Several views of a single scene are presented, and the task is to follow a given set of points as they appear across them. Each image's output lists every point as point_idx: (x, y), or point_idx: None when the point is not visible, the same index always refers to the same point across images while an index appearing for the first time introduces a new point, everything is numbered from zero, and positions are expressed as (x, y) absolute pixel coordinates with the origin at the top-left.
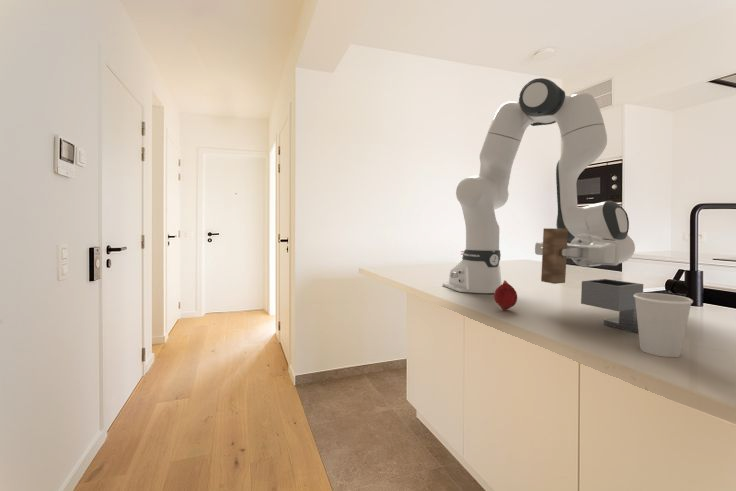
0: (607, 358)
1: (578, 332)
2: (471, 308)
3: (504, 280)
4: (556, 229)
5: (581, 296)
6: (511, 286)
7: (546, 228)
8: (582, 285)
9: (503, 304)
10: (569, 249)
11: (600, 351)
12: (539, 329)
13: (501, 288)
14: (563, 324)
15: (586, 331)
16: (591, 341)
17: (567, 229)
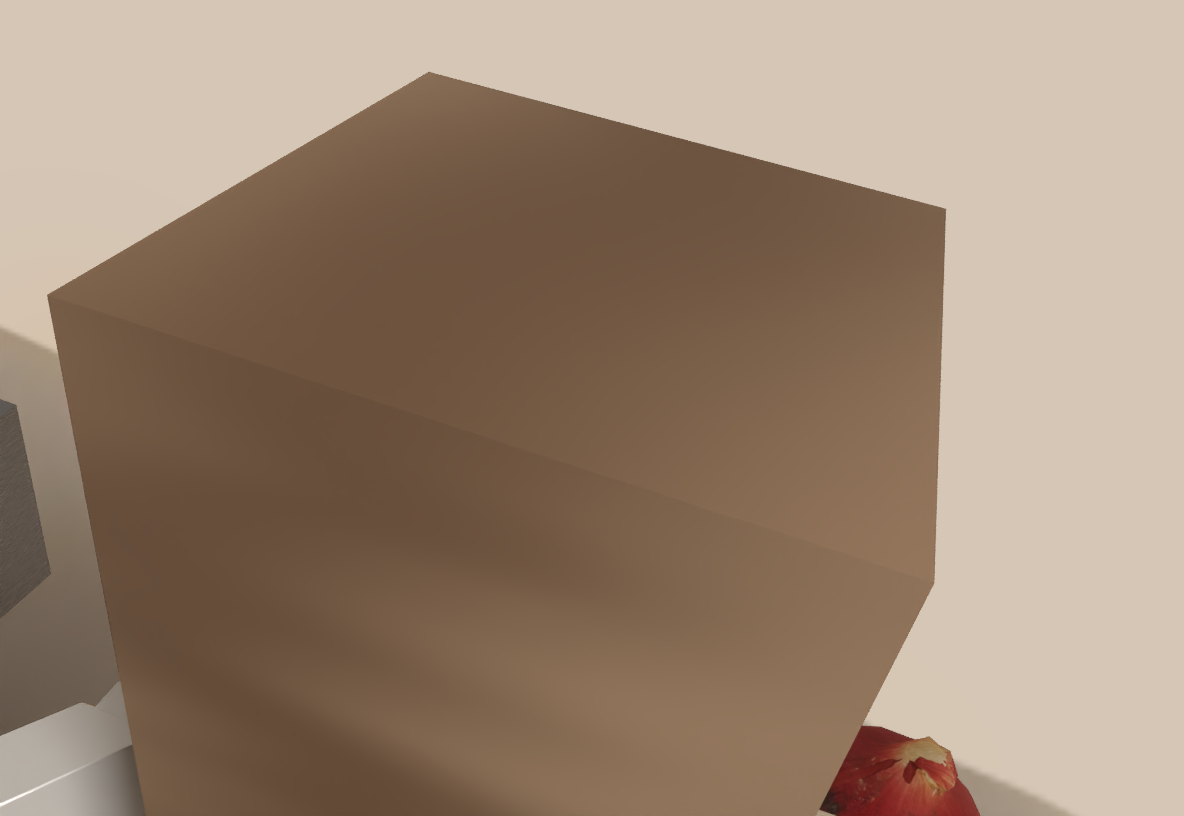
0: (3, 337)
1: (102, 612)
2: (1011, 793)
3: (942, 750)
4: (446, 100)
5: (38, 523)
6: (842, 797)
7: (845, 194)
8: (15, 435)
9: None
10: (84, 710)
11: (17, 389)
12: None
13: (881, 728)
14: None
15: (39, 665)
16: (38, 491)
17: (74, 307)
